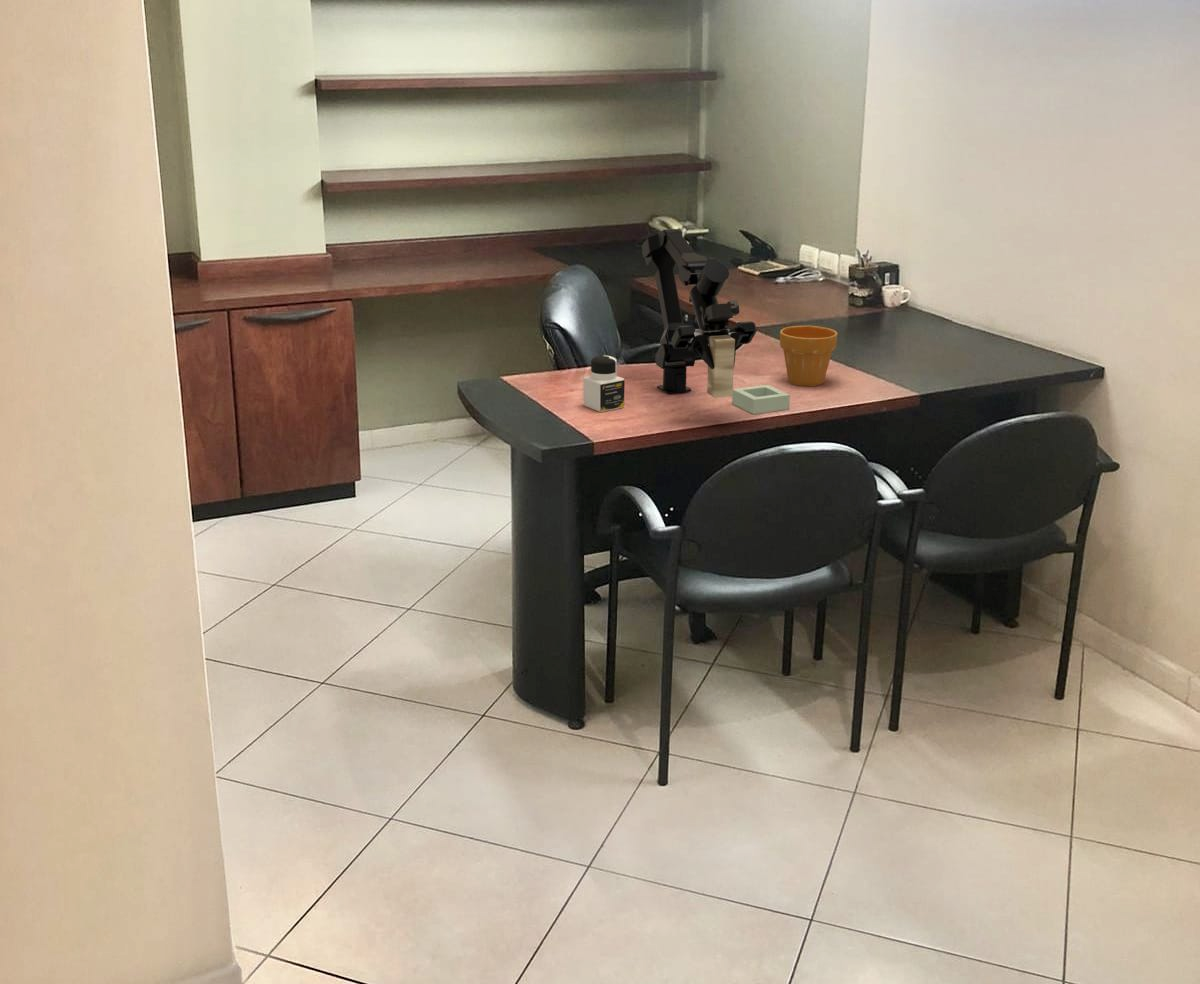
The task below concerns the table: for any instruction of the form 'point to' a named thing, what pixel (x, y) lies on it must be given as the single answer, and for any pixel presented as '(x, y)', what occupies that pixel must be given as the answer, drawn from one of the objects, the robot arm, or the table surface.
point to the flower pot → (807, 353)
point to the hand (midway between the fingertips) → (723, 367)
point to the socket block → (760, 399)
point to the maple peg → (721, 366)
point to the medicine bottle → (603, 385)
